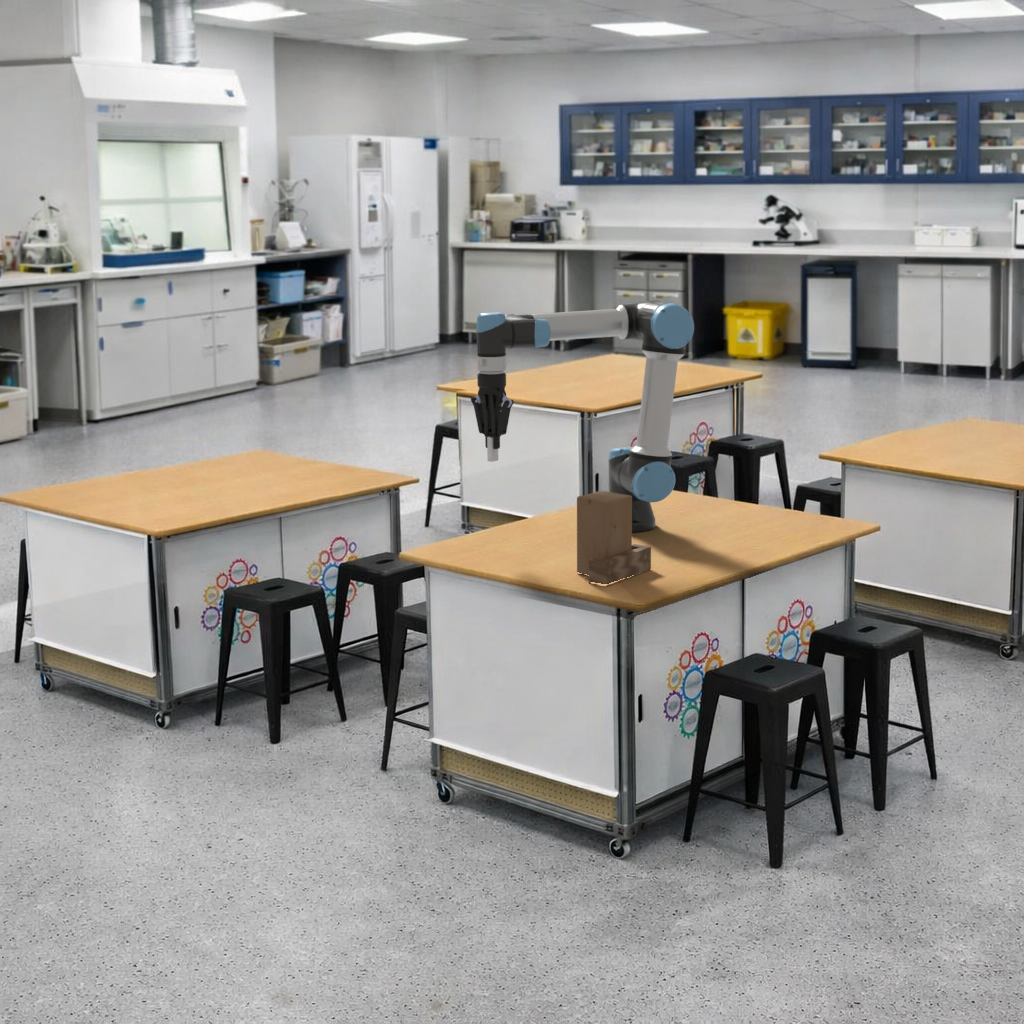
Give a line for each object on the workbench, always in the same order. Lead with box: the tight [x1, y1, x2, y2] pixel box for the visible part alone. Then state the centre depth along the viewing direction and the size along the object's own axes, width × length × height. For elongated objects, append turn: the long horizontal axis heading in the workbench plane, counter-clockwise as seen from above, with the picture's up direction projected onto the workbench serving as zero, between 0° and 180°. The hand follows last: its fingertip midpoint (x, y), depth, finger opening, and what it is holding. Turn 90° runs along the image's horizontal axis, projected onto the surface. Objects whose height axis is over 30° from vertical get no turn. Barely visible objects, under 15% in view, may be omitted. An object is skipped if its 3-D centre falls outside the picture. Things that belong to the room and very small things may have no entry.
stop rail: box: [588, 543, 652, 584], centre depth 359 cm, size 20×5×6 cm, turn 142°
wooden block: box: [576, 490, 633, 575], centre depth 360 cm, size 10×10×20 cm
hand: (492, 460), depth 383 cm, fingers closed
